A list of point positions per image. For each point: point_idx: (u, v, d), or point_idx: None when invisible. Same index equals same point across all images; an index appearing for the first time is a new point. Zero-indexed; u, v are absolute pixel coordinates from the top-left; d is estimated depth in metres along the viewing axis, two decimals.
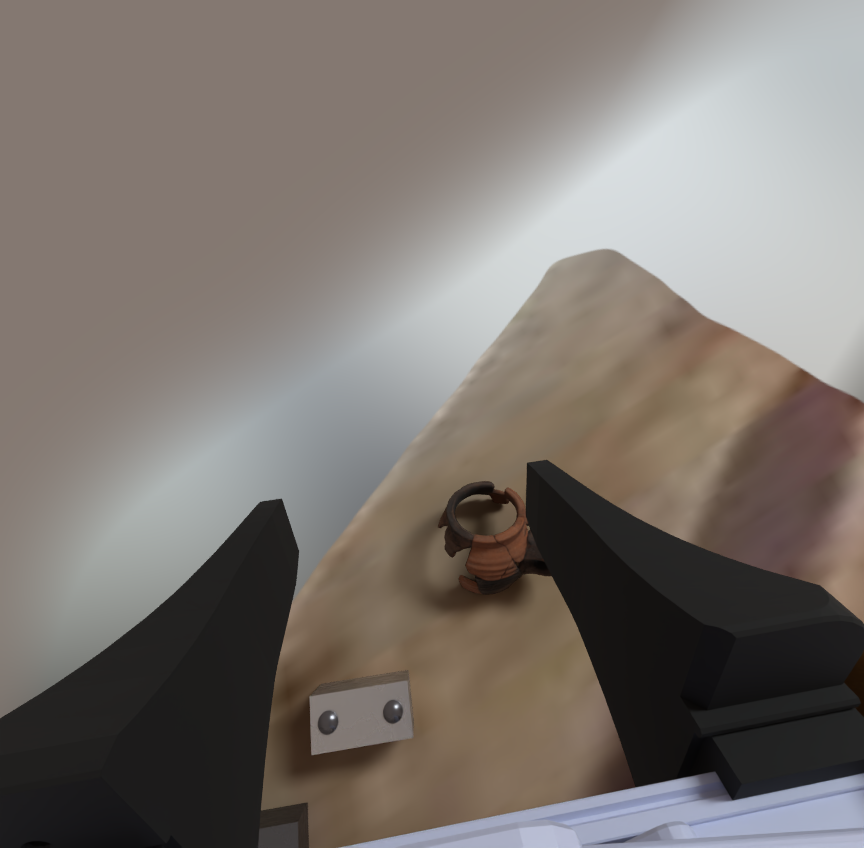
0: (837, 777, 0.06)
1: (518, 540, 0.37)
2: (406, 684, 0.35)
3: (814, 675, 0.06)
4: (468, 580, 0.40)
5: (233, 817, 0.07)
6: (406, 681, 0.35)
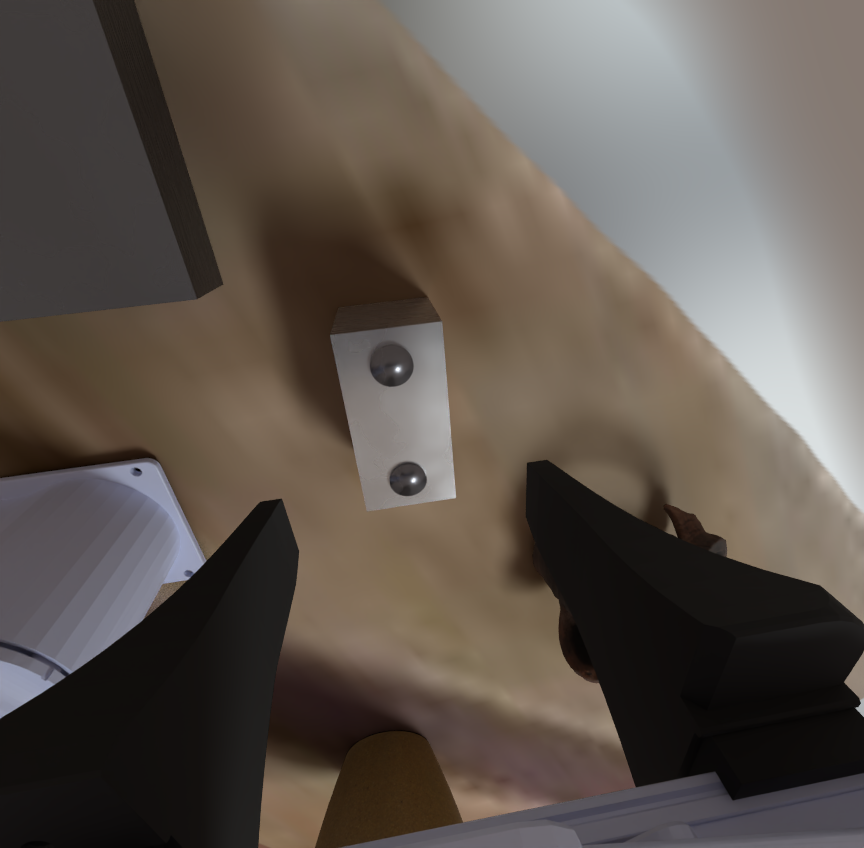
0: (837, 777, 0.06)
1: None
2: (449, 496, 0.19)
3: (814, 675, 0.06)
4: None
5: (233, 817, 0.07)
6: (454, 496, 0.19)
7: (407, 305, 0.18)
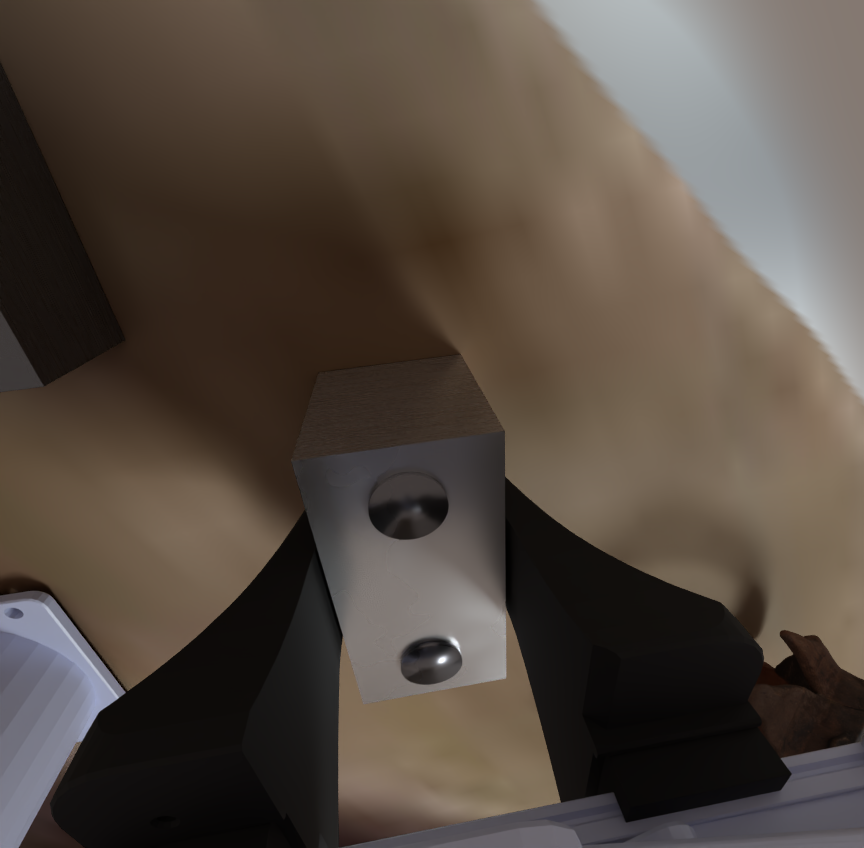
0: (734, 799, 0.06)
1: None
2: (496, 677, 0.12)
3: (714, 694, 0.06)
4: None
5: (322, 800, 0.07)
6: (503, 676, 0.12)
7: (431, 376, 0.11)
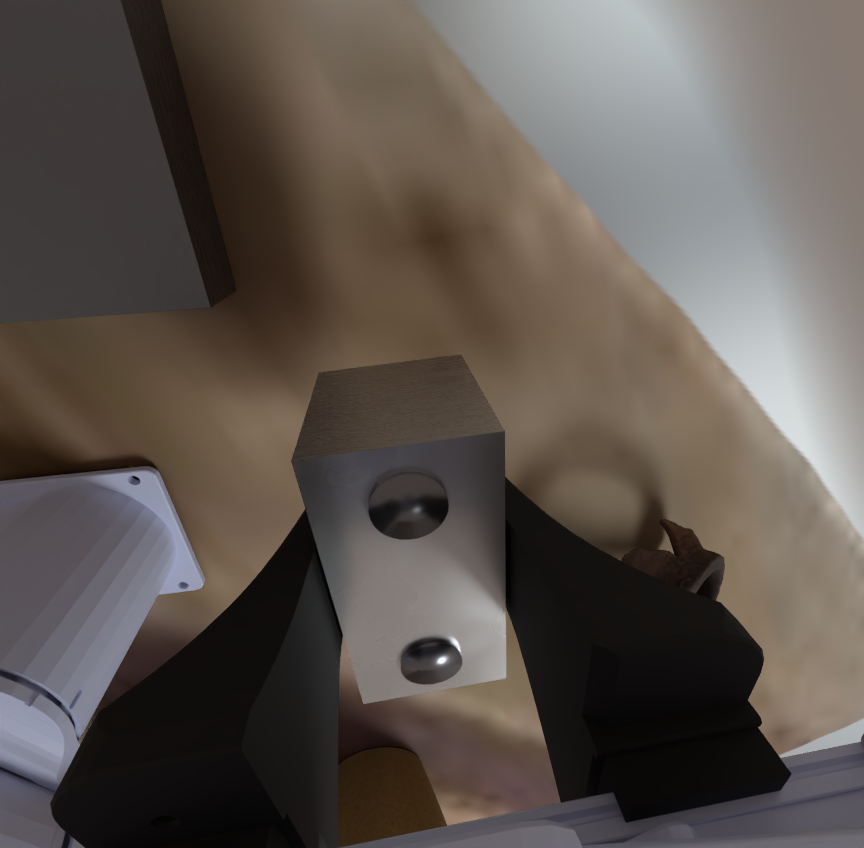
0: (734, 799, 0.06)
1: None
2: (496, 677, 0.12)
3: (714, 694, 0.06)
4: None
5: (322, 800, 0.07)
6: (503, 676, 0.12)
7: (431, 376, 0.11)
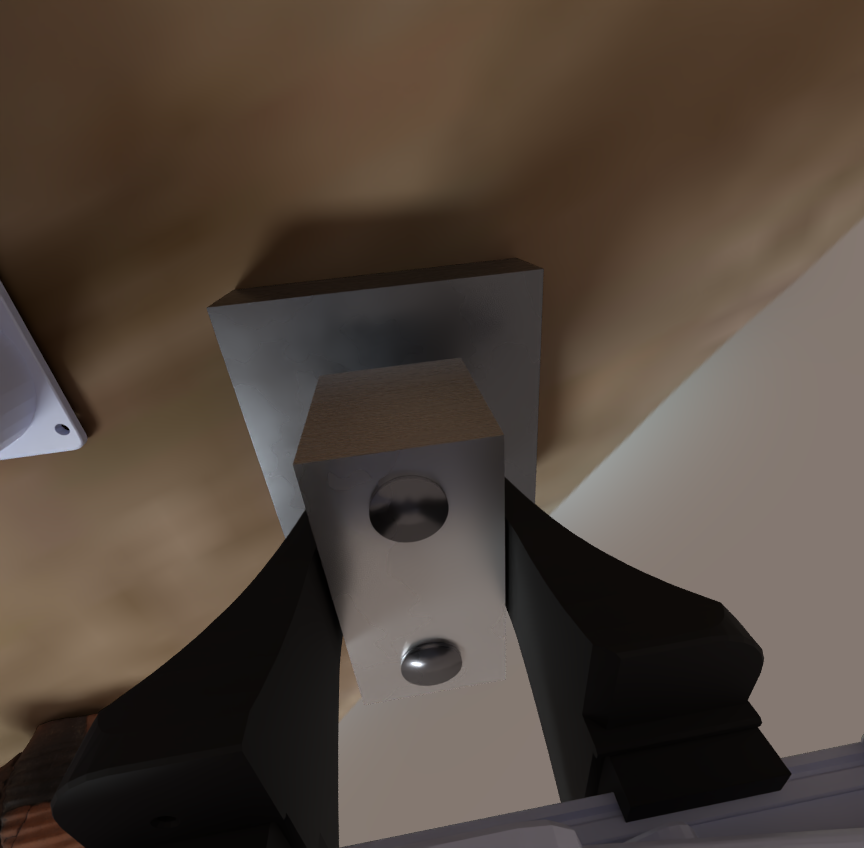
0: (734, 799, 0.06)
1: None
2: (496, 679, 0.12)
3: (713, 694, 0.06)
4: None
5: (322, 800, 0.07)
6: (503, 677, 0.12)
7: (431, 380, 0.11)
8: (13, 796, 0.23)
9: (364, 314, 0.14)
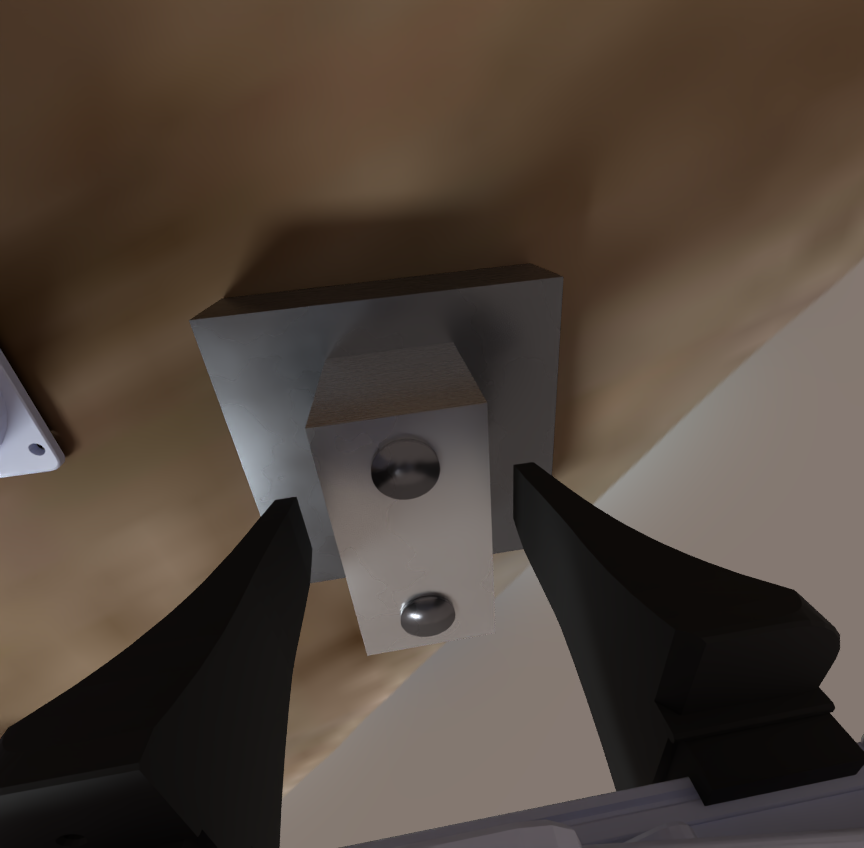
0: (810, 783, 0.06)
1: None
2: (486, 632, 0.13)
3: (788, 680, 0.06)
4: None
5: (257, 813, 0.07)
6: (493, 631, 0.13)
7: (426, 361, 0.12)
8: None
9: (364, 327, 0.13)
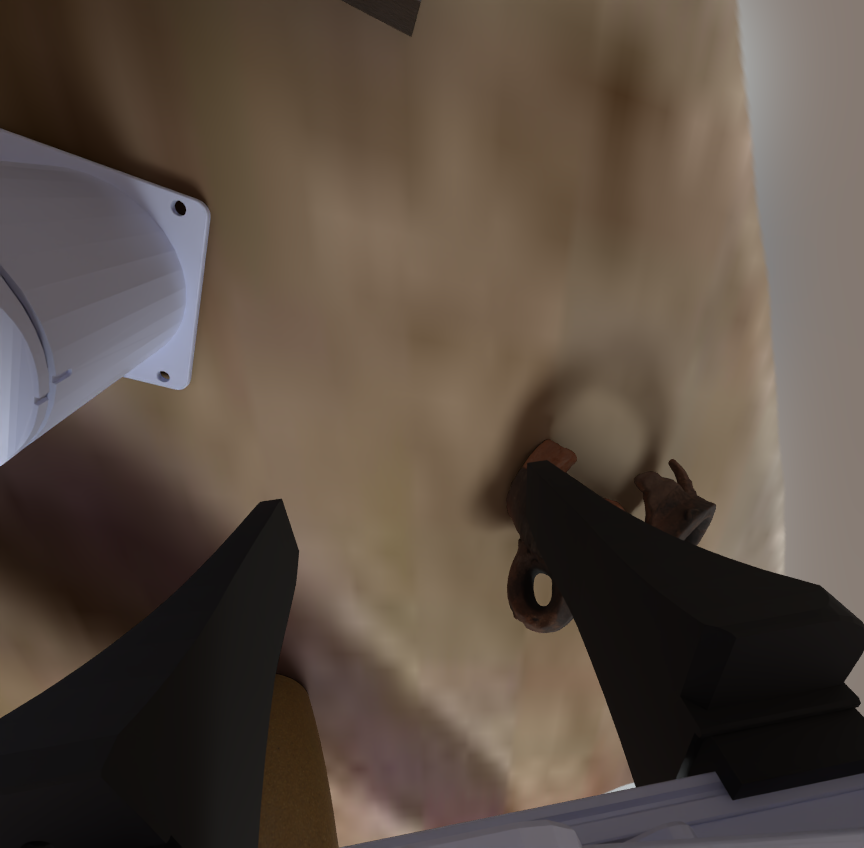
0: (837, 778, 0.06)
1: None
2: None
3: (814, 675, 0.06)
4: (565, 470, 0.22)
5: (233, 817, 0.07)
6: None
7: None
8: None
9: None
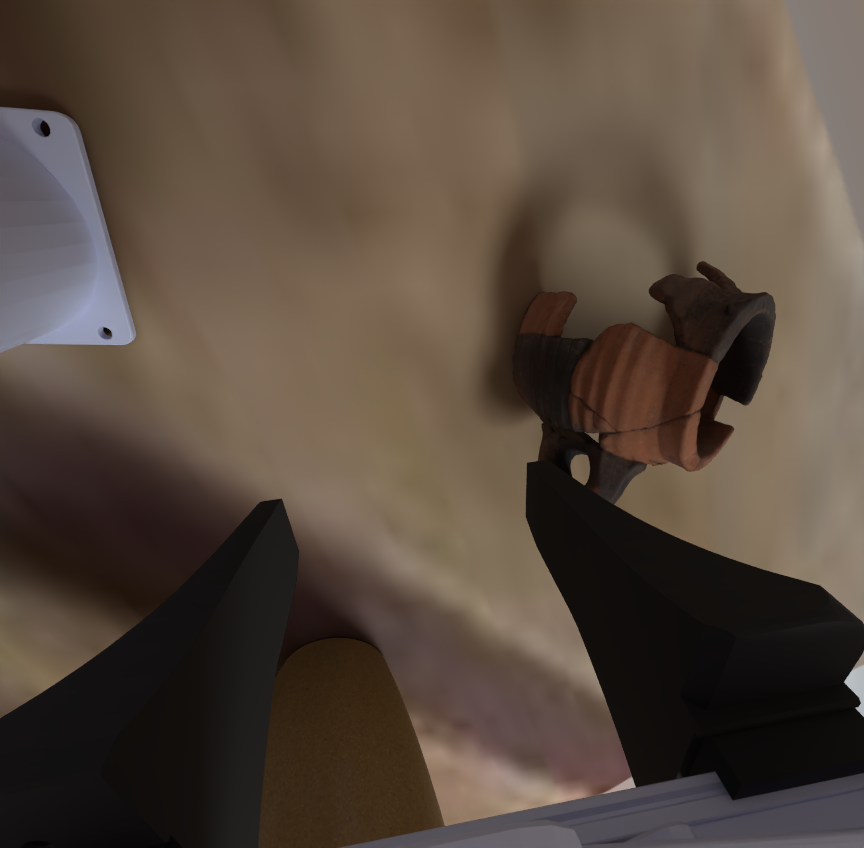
0: (837, 777, 0.06)
1: (650, 450, 0.17)
2: None
3: (814, 675, 0.06)
4: (565, 315, 0.18)
5: (233, 817, 0.07)
6: None
7: None
8: (559, 415, 0.18)
9: None
